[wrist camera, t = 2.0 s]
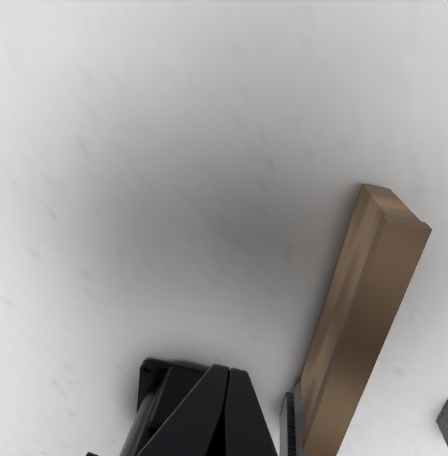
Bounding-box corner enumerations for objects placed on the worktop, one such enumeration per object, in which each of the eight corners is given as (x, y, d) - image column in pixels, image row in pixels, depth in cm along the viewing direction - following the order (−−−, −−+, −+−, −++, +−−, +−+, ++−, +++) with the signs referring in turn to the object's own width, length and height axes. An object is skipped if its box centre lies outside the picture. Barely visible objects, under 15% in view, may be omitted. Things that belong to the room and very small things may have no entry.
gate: (317, 403, 22) (326, 481, 18) (290, 397, 22) (293, 474, 18) (394, 189, 16) (433, 229, 12) (358, 183, 16) (384, 220, 12)
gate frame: (479, 428, 22) (540, 536, 17) (280, 420, 24) (280, 513, 19) (486, 398, 21) (552, 502, 16) (278, 391, 23) (277, 482, 18)
